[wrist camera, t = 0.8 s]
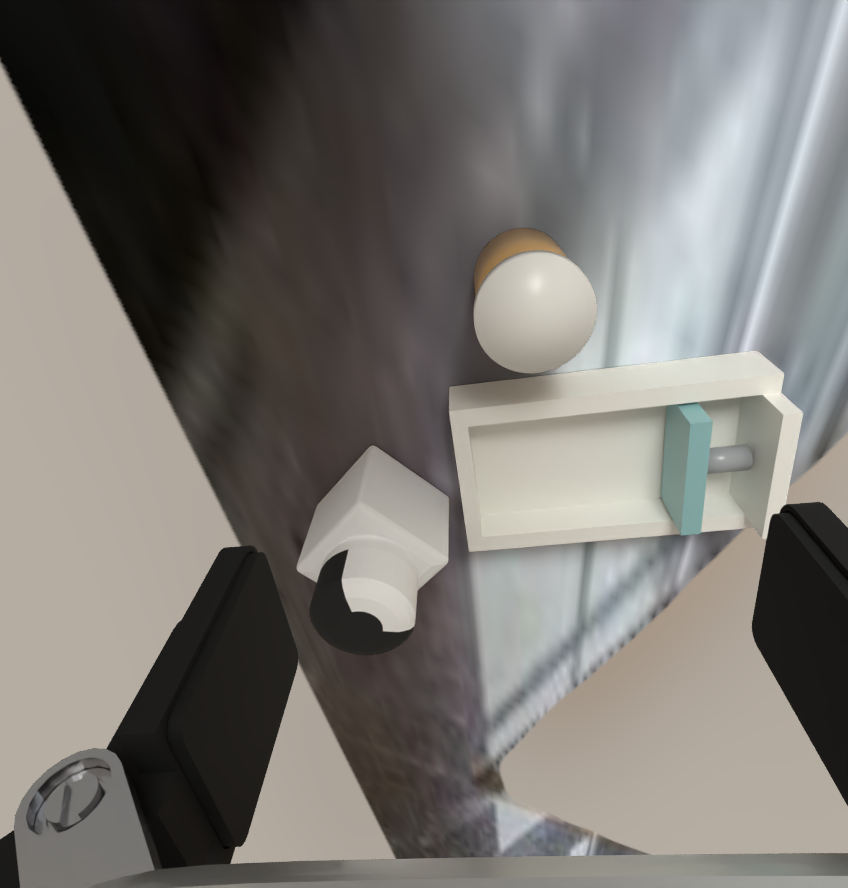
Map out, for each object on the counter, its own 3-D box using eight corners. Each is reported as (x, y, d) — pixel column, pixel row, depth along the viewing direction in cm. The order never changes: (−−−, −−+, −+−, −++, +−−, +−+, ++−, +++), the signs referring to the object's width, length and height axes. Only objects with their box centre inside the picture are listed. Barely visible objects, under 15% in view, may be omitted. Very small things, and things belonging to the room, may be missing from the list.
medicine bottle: (392, 553, 46) (374, 686, 36) (315, 505, 44) (272, 631, 33) (451, 496, 43) (450, 623, 33) (372, 441, 41) (344, 558, 30)
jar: (465, 232, 34) (467, 264, 27) (568, 217, 33) (596, 246, 26) (475, 329, 36) (480, 379, 30) (571, 317, 36) (597, 365, 29)
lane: (449, 386, 38) (448, 431, 33) (756, 350, 36) (807, 392, 31) (468, 520, 44) (469, 577, 39) (736, 496, 42) (776, 552, 37)
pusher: (667, 392, 37) (690, 423, 33) (740, 383, 36) (771, 415, 32) (660, 497, 40) (680, 535, 37) (726, 491, 40) (753, 529, 36)
